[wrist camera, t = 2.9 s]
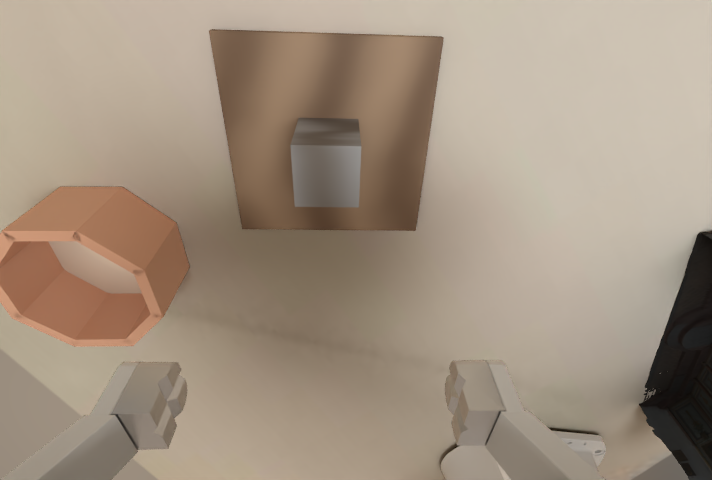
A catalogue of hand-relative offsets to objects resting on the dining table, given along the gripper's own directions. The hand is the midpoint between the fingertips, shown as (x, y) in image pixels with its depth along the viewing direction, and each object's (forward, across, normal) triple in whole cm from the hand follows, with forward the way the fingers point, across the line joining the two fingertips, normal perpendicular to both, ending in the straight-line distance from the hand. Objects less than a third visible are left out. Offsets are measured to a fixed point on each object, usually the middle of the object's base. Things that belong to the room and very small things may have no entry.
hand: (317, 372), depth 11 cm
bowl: (+19, +18, +9) cm, 28 cm away
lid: (+20, 0, 0) cm, 20 cm away
